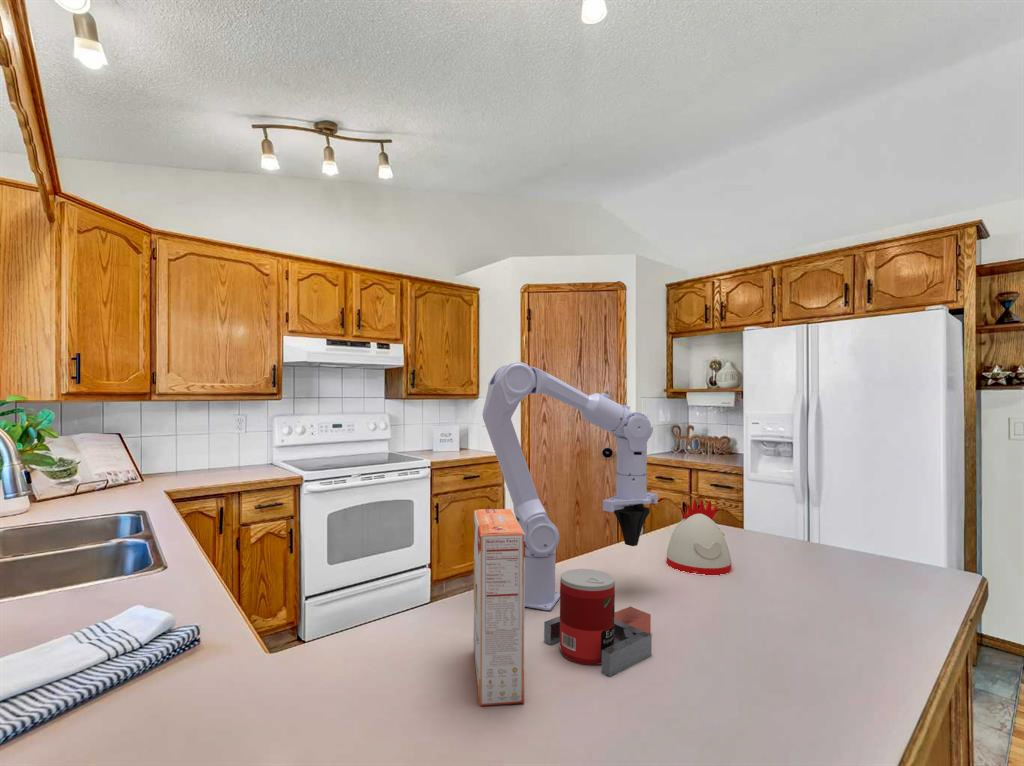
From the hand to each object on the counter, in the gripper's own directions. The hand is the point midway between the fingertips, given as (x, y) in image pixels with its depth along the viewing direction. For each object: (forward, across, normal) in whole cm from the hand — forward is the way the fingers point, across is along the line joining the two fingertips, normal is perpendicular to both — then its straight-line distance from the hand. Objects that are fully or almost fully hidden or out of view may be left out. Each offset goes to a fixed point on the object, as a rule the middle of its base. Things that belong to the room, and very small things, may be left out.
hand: (631, 544), depth 99 cm
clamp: (+9, -19, -10) cm, 24 cm away
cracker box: (+10, -38, -7) cm, 40 cm away
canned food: (+10, -24, -10) cm, 28 cm away
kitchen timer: (+10, +27, +2) cm, 29 cm away
